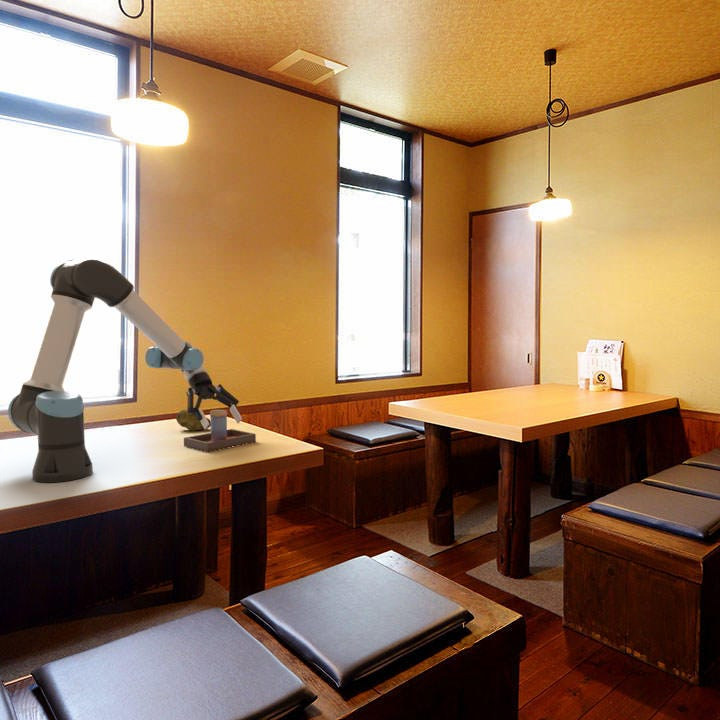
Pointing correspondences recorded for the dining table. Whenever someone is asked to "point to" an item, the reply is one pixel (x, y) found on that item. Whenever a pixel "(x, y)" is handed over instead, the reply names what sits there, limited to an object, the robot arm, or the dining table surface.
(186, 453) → the dining table surface
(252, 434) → the tray
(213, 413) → the shaker
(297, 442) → the dining table surface
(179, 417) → the potato
